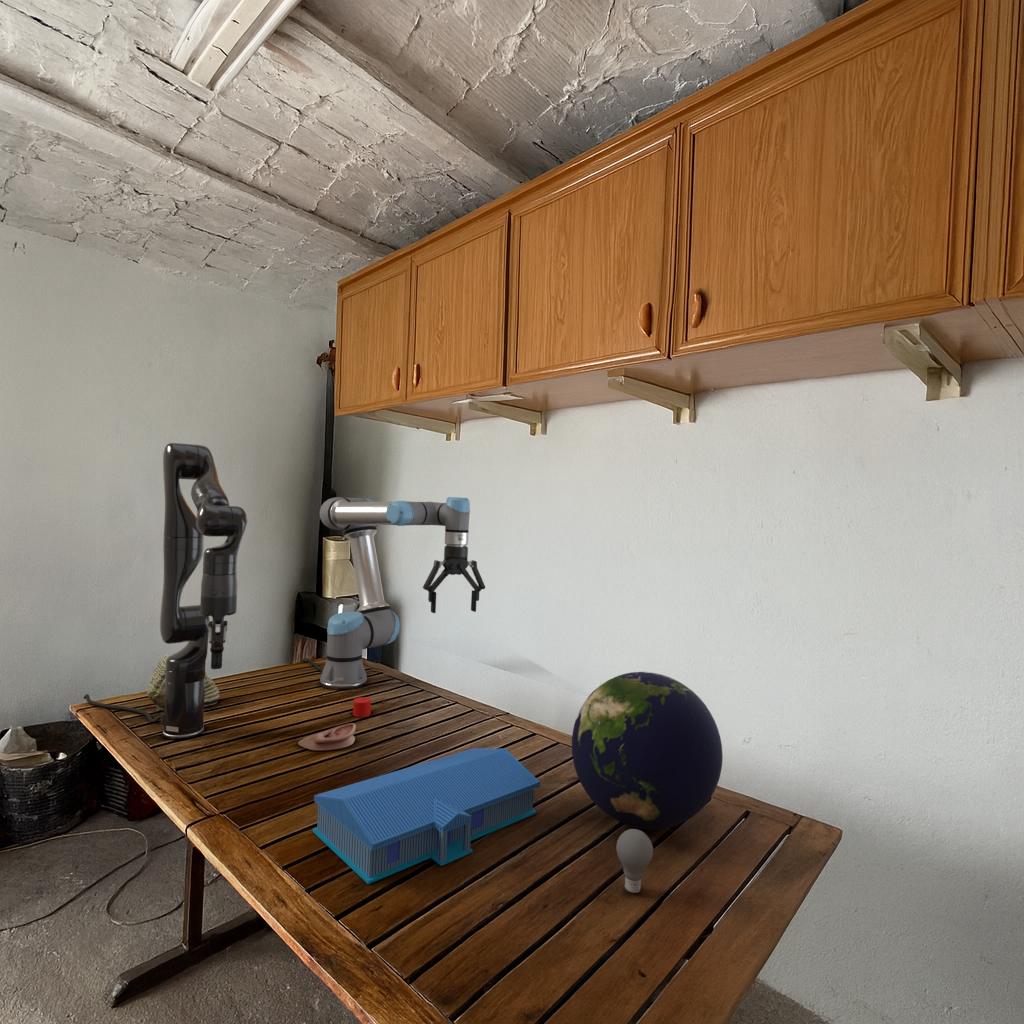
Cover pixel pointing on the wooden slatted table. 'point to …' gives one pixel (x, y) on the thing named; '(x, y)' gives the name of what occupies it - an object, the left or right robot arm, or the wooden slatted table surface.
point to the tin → (361, 707)
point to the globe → (647, 750)
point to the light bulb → (634, 857)
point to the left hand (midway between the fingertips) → (216, 663)
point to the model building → (424, 811)
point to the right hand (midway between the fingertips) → (453, 611)
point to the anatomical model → (330, 738)
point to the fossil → (158, 687)
